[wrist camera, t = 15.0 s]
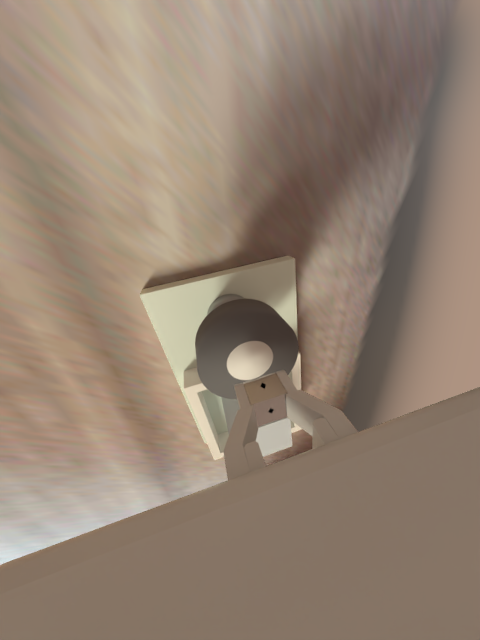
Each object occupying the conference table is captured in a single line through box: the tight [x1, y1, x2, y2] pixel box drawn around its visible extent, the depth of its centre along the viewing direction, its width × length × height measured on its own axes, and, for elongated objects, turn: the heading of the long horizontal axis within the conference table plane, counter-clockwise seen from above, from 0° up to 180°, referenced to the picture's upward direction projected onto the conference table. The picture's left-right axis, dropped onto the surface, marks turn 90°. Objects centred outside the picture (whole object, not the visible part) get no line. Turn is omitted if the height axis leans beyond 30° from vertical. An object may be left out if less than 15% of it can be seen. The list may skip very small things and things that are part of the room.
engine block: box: [221, 397, 292, 457], centre depth 23 cm, size 5×6×6 cm
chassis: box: [140, 256, 302, 460], centre depth 23 cm, size 22×14×4 cm, turn 10°
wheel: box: [195, 299, 299, 400], centre depth 15 cm, size 7×7×3 cm
